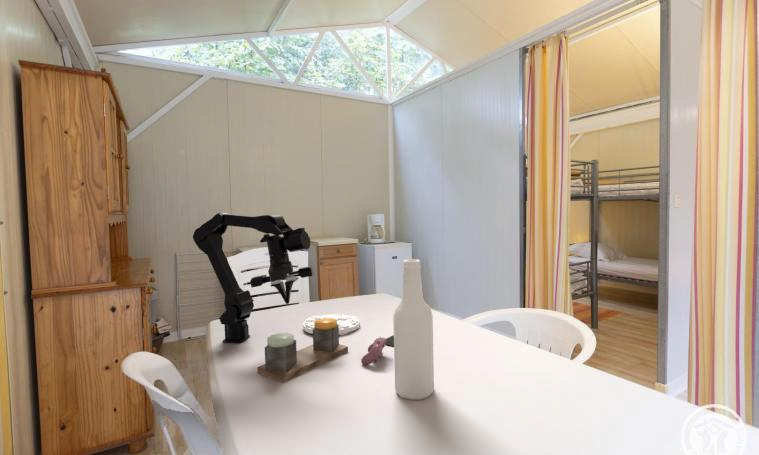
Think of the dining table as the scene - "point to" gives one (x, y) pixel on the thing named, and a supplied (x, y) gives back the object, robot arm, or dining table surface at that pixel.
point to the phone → (390, 341)
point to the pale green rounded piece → (280, 340)
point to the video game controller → (374, 351)
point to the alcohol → (413, 338)
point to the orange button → (325, 323)
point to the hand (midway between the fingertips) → (287, 303)
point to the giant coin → (343, 322)
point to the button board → (301, 355)
